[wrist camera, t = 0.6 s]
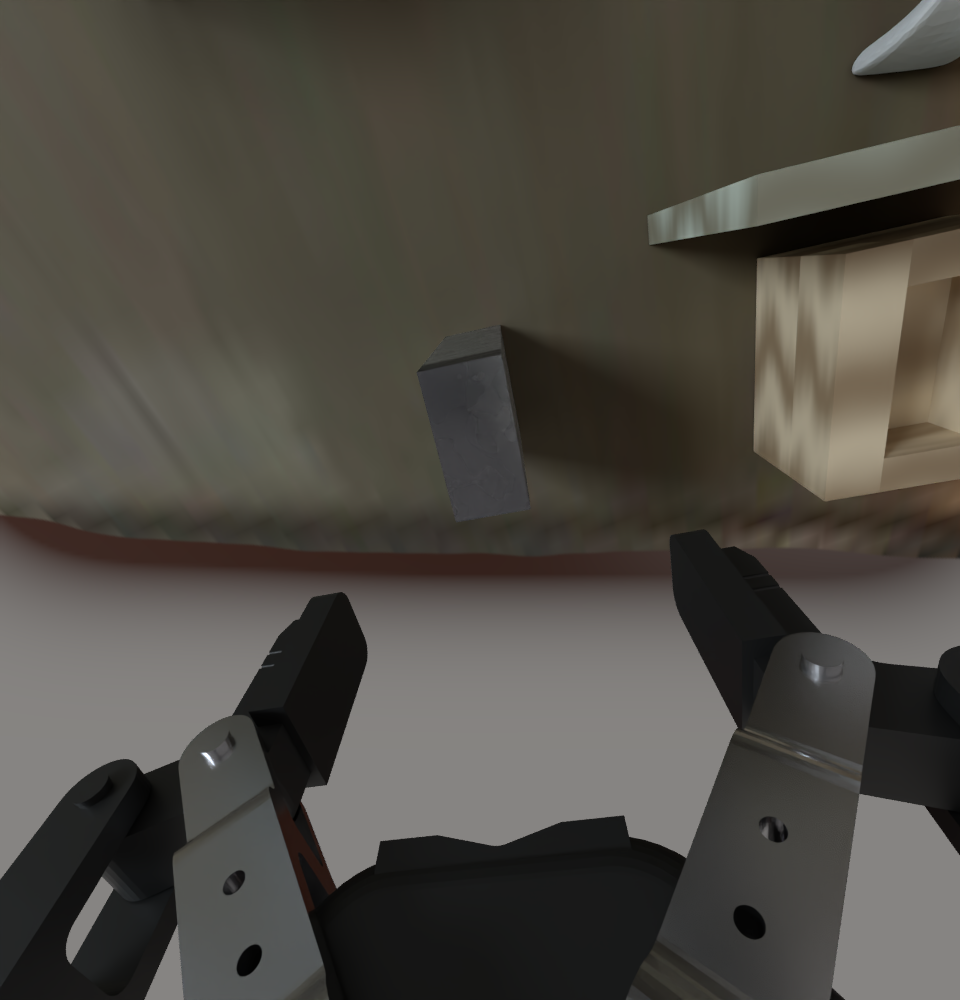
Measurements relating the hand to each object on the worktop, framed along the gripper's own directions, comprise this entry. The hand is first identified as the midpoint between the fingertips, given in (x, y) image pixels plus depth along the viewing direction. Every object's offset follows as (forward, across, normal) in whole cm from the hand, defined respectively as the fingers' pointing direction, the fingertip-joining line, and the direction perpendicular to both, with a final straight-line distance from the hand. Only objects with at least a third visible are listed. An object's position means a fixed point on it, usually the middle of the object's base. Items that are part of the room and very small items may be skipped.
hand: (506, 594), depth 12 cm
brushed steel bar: (+22, +1, 0) cm, 22 cm away
